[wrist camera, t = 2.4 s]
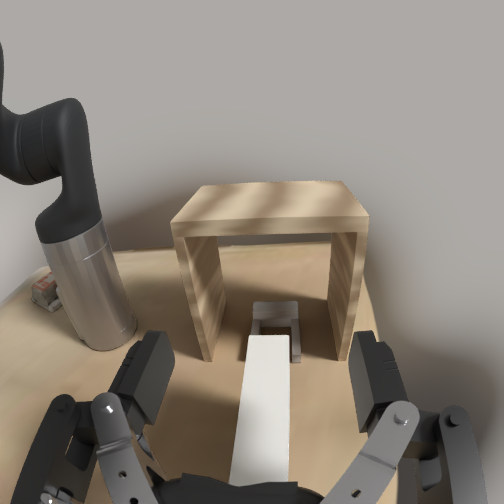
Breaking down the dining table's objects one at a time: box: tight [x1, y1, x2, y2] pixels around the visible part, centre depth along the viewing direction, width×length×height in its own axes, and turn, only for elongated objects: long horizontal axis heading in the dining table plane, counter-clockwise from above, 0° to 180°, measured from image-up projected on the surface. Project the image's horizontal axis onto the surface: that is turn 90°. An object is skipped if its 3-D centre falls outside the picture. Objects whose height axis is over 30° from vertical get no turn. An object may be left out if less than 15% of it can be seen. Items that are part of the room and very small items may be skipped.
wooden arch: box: [170, 181, 370, 363], centre depth 33 cm, size 18×12×18 cm
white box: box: [229, 335, 290, 486], centre depth 18 cm, size 3×12×12 cm, turn 175°
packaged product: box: [31, 271, 62, 313], centre depth 51 cm, size 18×5×10 cm
